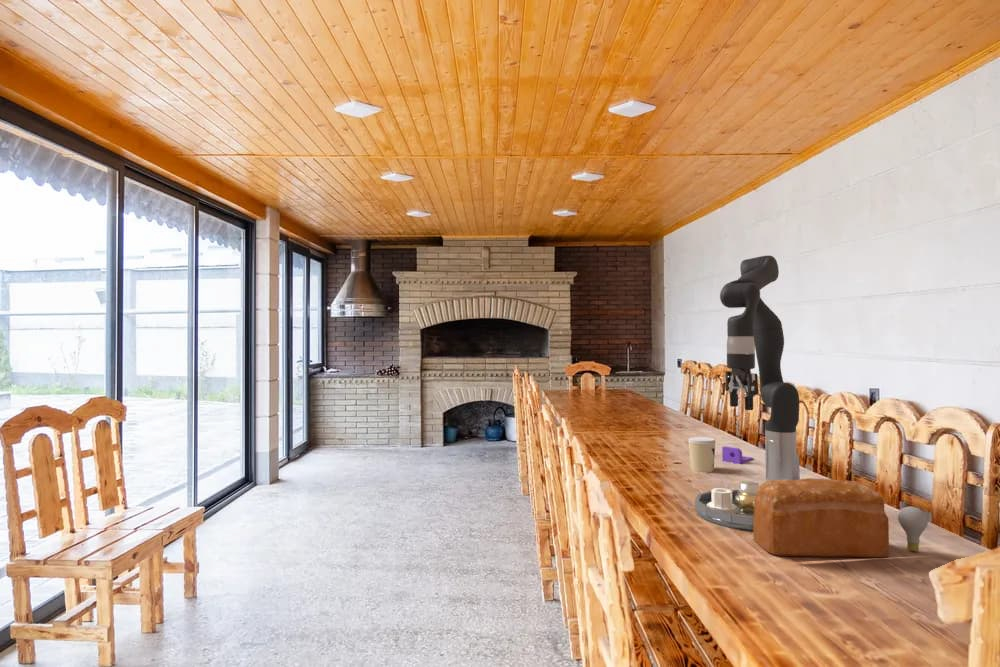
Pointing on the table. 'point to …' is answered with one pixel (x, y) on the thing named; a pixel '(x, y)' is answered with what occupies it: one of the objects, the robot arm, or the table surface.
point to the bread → (820, 519)
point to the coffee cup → (702, 454)
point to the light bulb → (913, 525)
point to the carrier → (739, 498)
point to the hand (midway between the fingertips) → (741, 408)
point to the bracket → (733, 455)
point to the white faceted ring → (722, 500)
